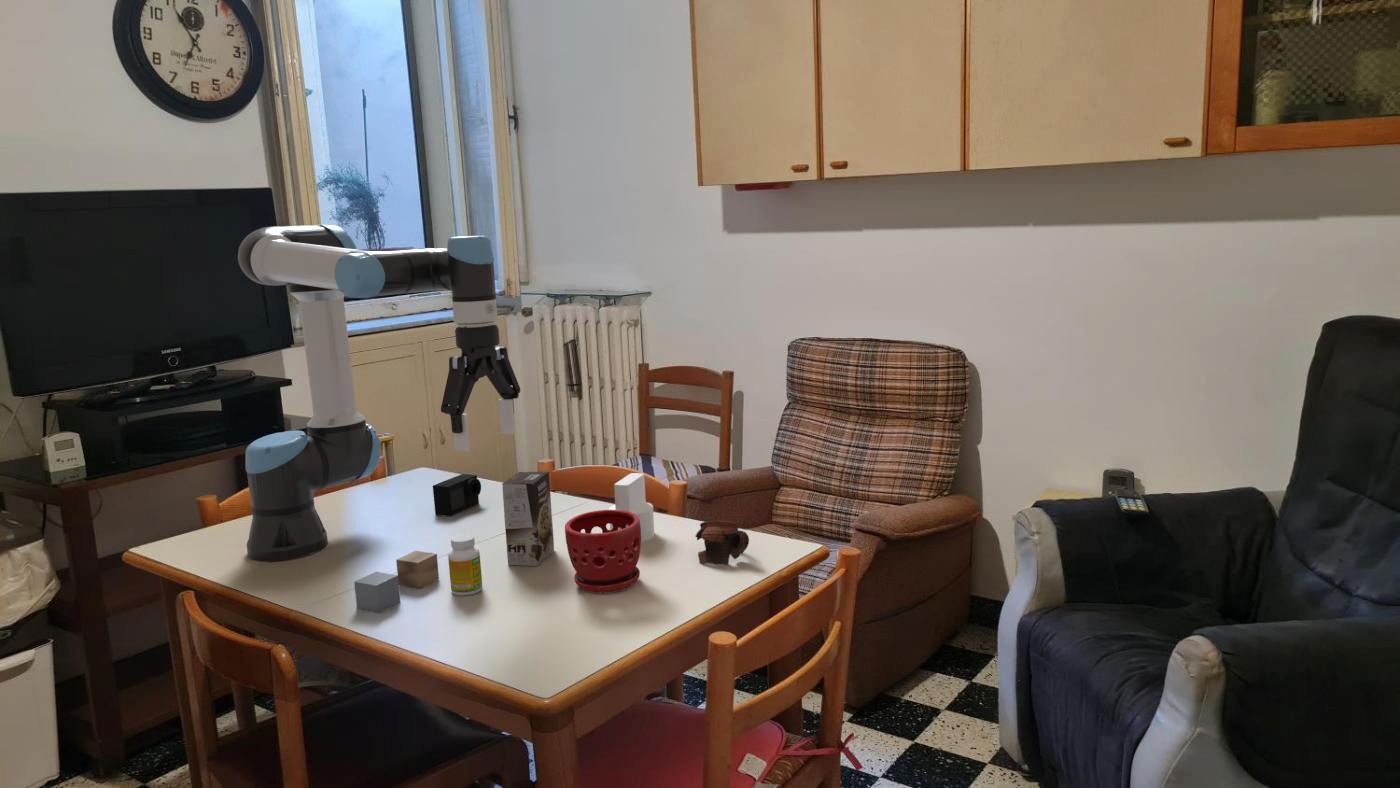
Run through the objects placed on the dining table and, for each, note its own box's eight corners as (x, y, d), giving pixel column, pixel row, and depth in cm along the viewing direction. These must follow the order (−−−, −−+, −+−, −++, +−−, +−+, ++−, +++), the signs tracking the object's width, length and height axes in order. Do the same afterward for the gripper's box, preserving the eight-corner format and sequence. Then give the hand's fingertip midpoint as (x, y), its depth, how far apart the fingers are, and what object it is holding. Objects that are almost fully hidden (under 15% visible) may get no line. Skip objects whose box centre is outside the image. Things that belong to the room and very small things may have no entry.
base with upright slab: (644, 544, 190) (641, 486, 188) (603, 541, 193) (599, 483, 191) (660, 530, 199) (658, 474, 196) (620, 527, 201) (617, 472, 199)
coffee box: (539, 566, 180) (533, 483, 177) (506, 565, 181) (500, 483, 179) (555, 550, 189) (550, 470, 186) (525, 549, 190) (519, 470, 187)
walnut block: (398, 585, 173) (396, 559, 173) (418, 576, 178) (415, 550, 177) (420, 589, 171) (417, 562, 170) (439, 579, 176) (436, 553, 175)
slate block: (357, 609, 163) (354, 581, 162) (378, 598, 168) (375, 571, 167) (379, 613, 161) (376, 585, 160) (400, 602, 165) (397, 575, 165)
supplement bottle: (478, 595, 167) (474, 542, 165) (447, 596, 167) (442, 543, 165) (485, 584, 172) (481, 532, 171) (455, 585, 172) (451, 533, 171)
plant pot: (575, 572, 176) (571, 509, 174) (646, 570, 176) (643, 507, 174) (562, 600, 164) (558, 533, 162) (639, 598, 163) (636, 530, 161)
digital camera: (454, 517, 213) (451, 487, 212) (435, 515, 216) (432, 485, 214) (483, 504, 222) (481, 475, 221) (464, 502, 225) (462, 473, 223)
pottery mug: (683, 565, 180) (685, 521, 183) (714, 573, 187) (716, 531, 189) (735, 559, 172) (736, 514, 175) (765, 568, 179) (766, 524, 182)
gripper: (448, 333, 157) (459, 459, 160) (533, 317, 179) (541, 428, 183) (412, 332, 160) (423, 457, 163) (500, 316, 182) (508, 426, 186)
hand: (486, 442), depth 173 cm, fingers open, 13 cm apart
